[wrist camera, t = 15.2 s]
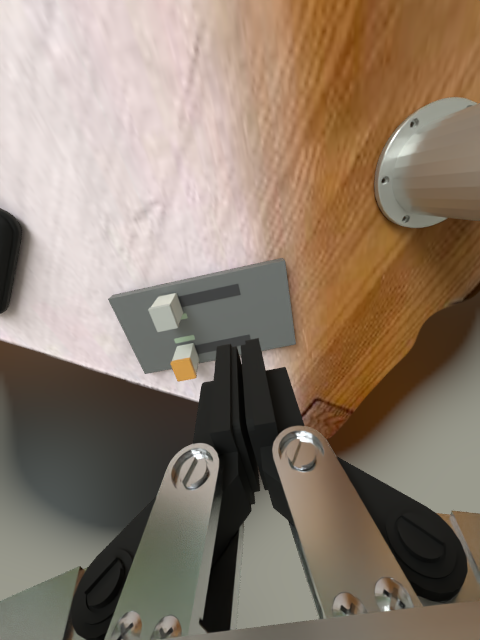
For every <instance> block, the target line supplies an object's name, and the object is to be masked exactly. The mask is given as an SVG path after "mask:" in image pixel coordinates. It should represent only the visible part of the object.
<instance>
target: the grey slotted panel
mask: <svg viewBox="0 0 480 640" xmlns="http://www.w3.org/2000/svg"><path fill="white" fill-rule="evenodd" d="M173 293H177V296H178V299H179V302H180V305H181V308H182V311H183V315H182V317H181V320H180V322H179V327H178V328H176V329H171V330H166V331H161V332H157V330H156V327H155V325H154V323H153V320H152V318H151V315H150V313H149V311H148V309H149V308H151V306H152V305H153V303H154V302H155V300H156V299H157V298H158V297H159V296H164V295H168V294H173ZM108 300H109V302H110V304H111V306H112V308H113V310H114V312H115V314H116V316H117V318H118V320H119V322H120V324H121V326H122V328H123V330H124V332H125V334H126V336H127V338H128V340H129V343H130V345H131V347H132V349H133V351H134V353H135V355H136V357H137V359H138V361H139V363H140V365H141V367H142V369H143V371H144V373H145V374H147V373H152V372H157V371H162V370H167V369H172V367H171V364H170V363H171V361H172V359H173V356H174V354H175V351H176V348H177V346H181V345H186V344H190V343H194V346H195V349H196V352H197V354H198V357H199V363H203V362H208V361H213V360H216V350H217V346H221V345H226V344H231V345H232V347H234V346H237V349H238V352H239V355H241V345H245V344H246V343H245V341H246V340H251V339H256V338H259V342H260V346H261V351H264V350H269V349H274V348H279V347H284V346H289V345H294V344H296V342H295V334H294V327H293V319H292V311H291V303H290V296H289V288H288V280H287V272H286V265H285V260H284V259H283V258H280V259H275V260H271V261H266V262H262V263H257V264H253V265H248V266H243V267H239V268H234V269H230V270H225V271H221V272H216V273H212V274H207V275H202V276H198V277H193V278H189V279H184V280H180V281H175V282H171V283H166V284H161V285H157V286H152V287H148V288H143V289H139V290H134V291H130V292H125V293H120V294H116V295H112V296H111V297H110V298H109V299H108Z"/></svg>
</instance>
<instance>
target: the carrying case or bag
mask: <svg viewBox="0 0 480 640" xmlns="http://www.w3.org/2000/svg"><path fill="white" fill-rule="evenodd" d="M21 237H22V230H21V227H20V224H19V223H18V221H17V220H16V219H15V217H14V216H13V215H11V214H10V213H8V212H7V211H5V210H3V209H1V208H0V314H1V313H3V312H4V311H6V310H7V308H8V305H9V301H10V296H11V291H12V285H13V280H14V274H15V269H16V264H17V259H18V254H19V248H20V243H21Z"/></svg>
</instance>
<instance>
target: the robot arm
mask: <svg viewBox="0 0 480 640" xmlns="http://www.w3.org/2000/svg"><path fill="white" fill-rule="evenodd" d="M410 124H411V127H410ZM382 179H383V182H381V181H382ZM374 188H375V197H376V200H377V203H378V206H379V208H380V210H381V211H382V213H383V214H384V215H385V216H386V217H387V218H388V219H389V220H390V221H392V222H393V223H395V224H397V225H400V226H403V227H409V228H423V227H428V226H432V225H435V224H437V223H440V222H442V221H444V220H445V219H447V218H455V219H464V220H474V221H480V103H479V104H477V103H476V102H473V101H471V100H469V99H466V98H459V97H451V98H444V99H441V100H438V101H435V102H432V103H430V104H428V105H426V106H424V107H422V108H420V109H418V110H417V111H416V112H414V113H413V114H411V115H410V116H408V117H407V118H406V119H405V120H404V121H403V122H402V123H401V124H400V125H399V126H398V127H397V129H396V130H395V131H394V133H393V134H392V135H391V136H390V138H389V140H388V141H387V143H386V145H385V147H384V148H383V150H382V153H381V155H380V158H379V160H378V164H377V168H376V172H375V182H374ZM402 219H403V220H402ZM245 343H246V344H245V345H241V358H242V364H241V360H240V356H239V352H238V349H237V346H234V347H232V345H231V344H226V345H221V346H217V350H216V361H215V373H214V381H210V382H204V383H203V384H202V386H201V392H200V399H199V406H198V412H197V419H196V426H195V433H194V440H193V444H192V445H189V446H187V447H185V448H183V449H182V450H181V451H179V452H178V453H177V454H176V455H175V457H174V458H173V459H172V460H171V462H170V464H169V466H168V468H167V470H166V473H165V475H164V479H163V481H162V484H161V486H160V489H159V492H158V495H157V496H156V497H155V498H154V499H153V500H152V501H151V502H150V503H149V504H148V505H147V506H146V507H145V508H144V509H143V510H142V511H141V512H140V513H139V514H138V515H137V516H136V517H135V518H134V519H133V520H132V521H131V522H130V523H129V525H127V526H126V528H124V529H123V531H122V532H121V533H120V534H119V535H118V536H117V537H116V538H115V539H114V540H113V541H112V542H111V543H110V544H109V545H108V546H107V547H106V548H105V549H104V550H103V551H102V552H101V553H100V554H99V555H98V556H97V557H96V558H95V559H94V561H93V562H92V563H91V564H90V566H89V567H87V568H85V569H83V568H81V567H80V566H79V567H76V568H74V569H72V570H70V571H67V572H65V573H63V574H61V575H58V576H56V577H54V578H51V579H49V580H47V581H45V582H42V583H40V584H38V585H36V586H33V587H31V588H29V589H26V590H24V591H22V592H20V593H17V594H15V595H13V596H11V597H8V598H6V599H4V600H2V601H0V640H480V514H478V513H469V512H459V511H452V512H451V515H448V514H439V513H435V512H433V511H432V510H431V509H429V508H428V507H426V506H424V505H422V504H421V503H419V502H417V501H415V500H414V499H412V498H410V497H408V496H406V495H405V494H403V493H401V492H399V491H397V490H396V489H394V488H392V487H390V486H389V485H387V484H385V483H383V482H381V481H380V480H378V479H376V478H374V477H372V476H371V475H369V474H367V473H365V472H364V471H362V470H360V469H358V468H356V467H355V466H353V465H351V464H349V463H348V462H346V461H344V460H342V459H340V458H339V457H337V456H336V455H335V454H334V452H333V450H332V449H331V447H330V445H329V443H328V442H327V441H326V439H325V438H324V437H323V435H322V434H321V433H319V432H318V431H316V430H315V429H312V428H310V427H307V426H304V423H303V420H302V417H301V413H300V410H299V407H298V404H297V401H296V398H295V395H294V392H293V389H292V386H291V382H290V379H289V376H288V373H287V370H286V368H285V367H283V368H278V369H272V370H267V371H265V366H264V361H263V356H262V351H261V346H260V342H259V338H256V339H251V340H246V341H245ZM258 468H259V472H260V475H261V479H262V482H263V485H264V489H265V490H268V491H269V494H270V498H271V501H272V505H273V508H274V509H276V510H277V511H278V512H279V513H280V514H282V515H283V516H284V517H285V518H286V519H287V520H288V521H289V525H290V528H291V531H292V535H293V538H294V541H295V544H296V548H297V551H298V554H299V557H300V560H301V564H302V567H303V570H304V573H305V576H306V580H307V583H308V586H309V589H310V592H311V596H312V599H313V602H314V605H315V609H316V612H317V615H318V618H319V619H318V620H310V621H302V622H293V623H286V624H278V625H270V626H262V627H254V628H246V629H238V630H236V629H237V628H236V627H237V616H238V615H237V614H238V603H239V590H240V577H241V565H242V551H243V538H244V521H245V519H246V518H247V516H248V515H249V514H250V512H251V504H255V497H254V492H257V491H260V484H259V474H258Z"/></svg>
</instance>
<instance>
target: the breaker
mask: <svg viewBox="0 0 480 640" xmlns="http://www.w3.org/2000/svg"><path fill="white" fill-rule="evenodd" d="M148 311H149V313H150V315H151V318H152V320H153V323H154V325H155V327H156V330H157V332H161V331H166V330H171V329H176V328H178V327H179V322H180V320H181V317H182V315H183V311H182V308H181V305H180V302H179V299H178V296H177V293H173V294H168V295H164V296H159V297H158V298H157V299H156V300H155V302H154V303H153V305H152V306H151V308H149V309H148Z"/></svg>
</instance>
